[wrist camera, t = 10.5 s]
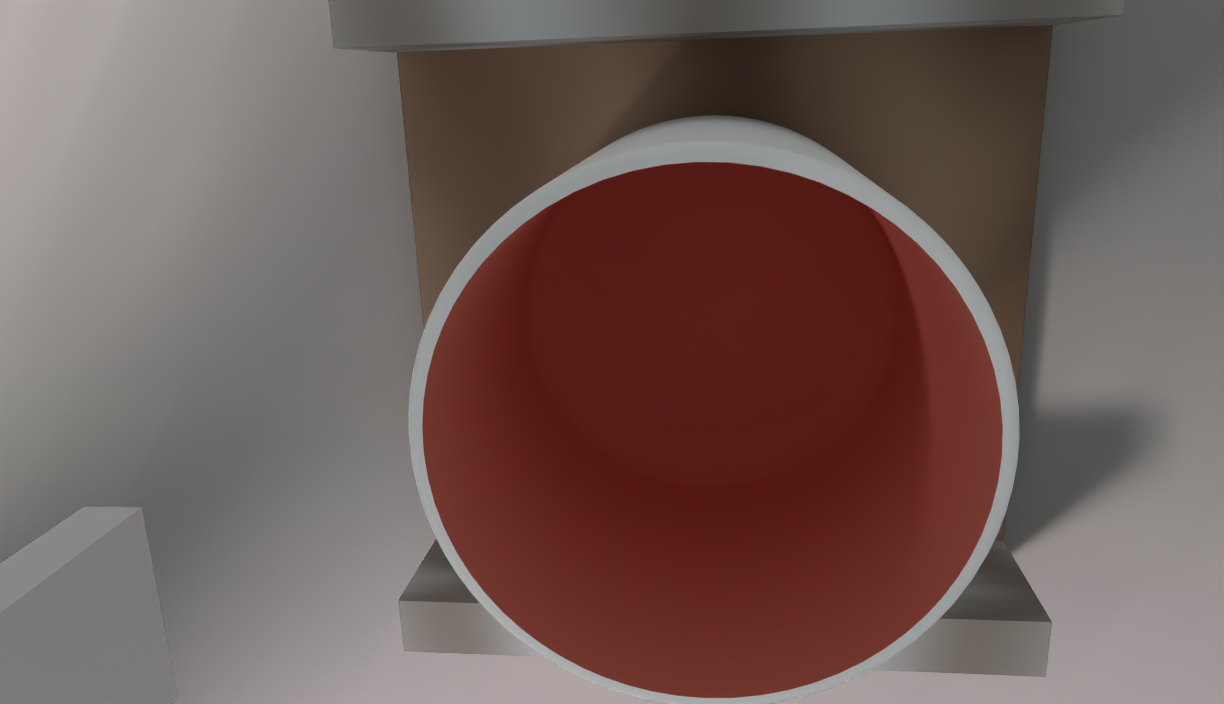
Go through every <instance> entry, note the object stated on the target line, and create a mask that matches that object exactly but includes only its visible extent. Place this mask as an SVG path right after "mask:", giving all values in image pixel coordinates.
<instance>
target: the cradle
mask: <svg viewBox="0 0 1224 704" xmlns="http://www.w3.org/2000/svg"><path fill="white" fill-rule="evenodd" d="M1124 1H1125V0H329V8H330V17H331V25H332V34H333V43H334V48H338V49H354V50H370V51H386V52H397V58H398V68H399V78H400V89H401V99H402V109H403V119H404V130H405V140H406V150H407V160H408V170H409V181H410V191H411V201H412V211H413V222H414V232H415V242H416V252H417V263H418V273H419V283H420V293H421V304H422V314H423V324H424V329H425V326H426V323H427V320H428V318H429V316H430V314H431V312H432V310H433V307H434V305H435V303H436V301H437V299H438V297H439V295H440V293H441V291H442V289H443V288H444V286H445V285H446V283H447V281H448V280H449V278H450V276H451V275H452V273H453V272H454V270H455V268H456V267H457V266H458V264H459V263H460V262H461V260H462V259H463V258H464V256H465V255H466V254H467V253H468V251H469V250H470V249H471V247H472V246H473V245H474V244H475V243H476V242H477V241H478V240H479V238H480V237H481V236H482V235H483V234H484V233H485V232H486V231H487V230H488V229H489V228H490V227H491V226H492V225H493V224H494V223H495V222H496V221H497V220H498V219H500V218H501V217H502V216H503V215H504V214H505V213H507V212H508V211H509V210H510V209H511V208H512V207H514V206H515V205H516V204H518V203H519V202H520V201H522V200H523V199H525V198H526V197H527V196H529V195H530V194H532V193H533V192H535V191H536V190H537V189H539V188H541V187H542V186H544V185H545V184H547V183H548V182H550V181H552V180H553V179H555V178H556V177H558V176H560V175H561V174H563V173H564V172H566V171H567V170H569V169H571V168H572V167H574V166H575V165H577V164H578V163H580V162H582V161H583V160H585V159H586V158H588V157H590V156H591V155H593V154H594V153H596V152H597V151H599V150H601V149H602V148H604V147H605V146H607V145H609V144H611V143H613V142H614V141H616V140H618V139H620V138H621V137H623V136H626V135H628V134H630V133H633V132H635V131H637V130H640V129H642V128H645V127H648V126H651V125H655V124H658V123H661V122H665V121H670V120H675V119H680V118H685V117H695V116H708V115H716V116H736V117H743V118H750V119H755V120H760V121H764V122H768V123H772V124H775V125H778V126H781V127H784V128H787V129H790V130H792V131H794V132H796V133H799V134H801V135H803V136H805V137H808V138H809V139H811V140H813V141H815V142H816V143H818V144H820V145H822V146H823V147H825V148H826V149H828V150H829V151H831V152H832V153H834V154H835V155H836V156H838V157H839V158H841V159H842V160H843V161H845V162H846V163H847V164H849V165H850V166H852V167H853V168H854V169H856V170H857V171H858V172H860V173H861V174H863V175H864V176H865V177H867V178H868V179H869V180H871V181H872V182H874V183H875V184H876V185H878V186H879V187H880V188H882V189H883V190H885V191H886V192H887V193H889V194H890V195H891V196H893V197H894V198H896V199H897V200H898V201H900V202H901V203H903V204H904V205H905V206H907V207H908V208H909V209H910V210H911V211H913V212H914V213H915V214H916V215H917V216H919V217H920V218H921V219H922V220H923V221H924V222H926V223H927V224H928V225H929V226H930V227H931V228H932V229H933V230H934V231H935V232H936V233H937V234H938V235H939V236H940V237H941V238H942V239H943V240H944V241H945V242H946V243H947V244H948V246H949V247H950V248H951V249H952V250H953V251H954V253H955V254H956V255H957V256H958V257H959V259H960V260H961V261H962V263H963V264H964V265H965V267H966V268H967V269H968V271H969V272H970V274H971V275H972V277H973V278H974V280H975V281H976V283H977V284H978V286H979V288H980V289H981V291H982V293H983V295H984V296H985V298H986V300H987V302H988V303H989V305H990V307H991V310H992V312H993V314H994V316H995V318H996V321H997V323H998V325H999V327H1000V329H1001V332H1002V335H1003V338H1004V341H1005V344H1006V347H1007V350H1008V353H1009V356H1010V360H1011V365H1012V369H1013V373H1014V378H1015V382H1016V390H1017V389H1018V378H1019V368H1020V357H1021V347H1022V337H1023V326H1024V316H1025V306H1026V295H1027V285H1028V275H1029V264H1030V254H1031V243H1032V233H1033V223H1034V212H1035V202H1036V192H1037V181H1038V171H1039V160H1040V150H1041V140H1042V129H1043V119H1044V109H1045V98H1046V88H1047V77H1048V67H1049V57H1050V46H1051V36H1052V26H1053V25H1056V24H1063V23H1070V22H1077V21H1084V20H1091V19H1098V18H1104V17H1111V16H1118V15H1123V10H1124ZM1004 523H1005V516H1004V519H1003V521H1002V524H1001V527H1000V529H999V532H998V534H997V536H996V538H995V540H994V542H993V544H992V547H991V549H990V551H989V553H988V555H987V556H986V558H985V559H984V561H983V563H982V564H981V566H980V568H979V569H978V571H977V573H976V574H975V576H974V577H973V579H972V581H971V582H970V583H969V584H968V586H967V587H966V588H965V590H964V591H963V592H962V594H961V595H960V596H959V597H958V599H957V600H956V601H955V603H954V604H953V605H952V606H951V607H950V608H949V609H948V610H947V611H946V612H945V613H944V614H943V615H942V616H941V617H940V618H939V619H938V621H937V622H936V623H935V624H934V625H933V626H931V627H930V628H929V629H928V630H927V631H926V632H924V633H923V634H922V635H921V636H920V637H918V638H917V639H916V640H915V641H914V642H913V643H911V644H910V645H909V646H907V647H906V648H904V649H903V650H901V651H900V652H898V653H897V654H896V655H894V656H893V657H891V658H890V659H888V660H887V661H885V662H884V663H882V664H880V665H878V666H876V667H874V668H872V669H871V670H892V671H917V672H942V673H967V674H992V675H1017V676H1042V677H1046V669H1047V660H1048V652H1049V643H1050V635H1051V626H1052V622H1051V620H1050V618H1049V617H1048V615H1047V613H1046V611H1045V610H1044V608H1043V606H1042V605H1041V603H1040V601H1039V600H1038V598H1037V596H1036V595H1035V593H1034V591H1033V590H1032V588H1031V586H1030V585H1029V583H1028V581H1027V580H1026V578H1025V576H1024V575H1023V573H1022V571H1021V570H1020V568H1019V566H1018V565H1017V563H1016V561H1015V560H1014V558H1013V556H1012V555H1011V553H1010V551H1009V550H1008V548H1007V546H1006V545H1005V543H1004V541H1003V534H1004ZM398 602H399V611H400V619H401V628H402V637H403V645H404V651H414V652H439V653H464V654H489V655H515V656H540V657H544V656H542V655H541V654H539V653H538V652H536V651H535V650H533V649H532V648H530V647H529V646H527V645H526V644H524V643H523V642H522V641H520V640H519V639H518V638H516V637H515V636H514V635H513V634H512V633H510V632H509V631H508V630H507V629H506V628H504V627H503V626H502V625H501V624H500V623H499V622H498V621H497V620H496V619H495V618H494V617H493V616H492V615H491V614H490V613H489V612H488V611H487V610H486V609H485V608H484V607H483V606H482V605H481V604H480V602H479V601H478V600H477V599H476V598H475V597H474V596H473V595H472V593H471V592H470V591H469V589H468V588H467V587H466V585H465V584H464V583H463V581H462V580H461V579H460V577H459V576H458V575H457V573H456V572H455V570H454V569H453V567H452V565H451V564H450V562H449V561H448V559H447V557H446V556H445V554H444V552H443V550H442V548H441V546H440V545H439V543H438V541H437V539H436V540H435V542H434V544H433V545H432V547H431V548H430V550H429V552H428V553H427V555H426V557H425V558H424V560H423V561H422V563H421V565H420V566H419V568H418V570H417V571H416V573H415V574H414V576H413V578H412V579H411V581H410V583H409V584H408V586H407V587H406V589H405V591H404V592H403V594H402V596H401V597H400V599H399V600H398Z"/></svg>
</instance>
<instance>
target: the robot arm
mask: <svg viewBox="0 0 1224 704" xmlns="http://www.w3.org/2000/svg"><path fill="white" fill-rule="evenodd" d="M177 697H178V695H177V689H176V684H175V679H174V674H173V669H172V663H171V658H170V653H169V648H168V643H167V637H166V632H165V627H164V622H163V616H162V611H161V606H160V601H159V596H158V590H157V585H156V580H155V575H154V570H153V564H152V559H151V554H150V549H149V543H148V538H147V533H146V528H145V523H144V517H143V512H142V507H86V506H84V507H83V508H81V509H80V510H78V511H77V512H75V513H74V514H72V515H71V516H69V517H68V518H66V519H65V520H63V521H62V522H60V523H59V524H57V525H56V526H54V527H53V528H52V529H50V530H49V531H47V532H46V533H44V534H43V535H41V536H40V537H38V538H37V539H35V540H34V541H32V542H31V543H29V544H28V545H26V546H25V547H23V548H22V549H20V550H19V551H18V552H16V553H15V554H13V555H12V556H10V557H9V558H7V559H6V560H4V561H3V562H1V563H0V704H172V703H173V702H174V701H175V700H176V699H177Z"/></svg>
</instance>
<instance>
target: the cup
mask: <svg viewBox="0 0 1224 704" xmlns="http://www.w3.org/2000/svg"><path fill="white" fill-rule="evenodd" d="M408 428H409V445H410V453H411V461H412V467H413V472H414V476H415V481H416V485H417V489H418V492H419V496H420V499H421V502H422V505H423V508H424V511H425V514H426V516H427V519H428V521H429V523H430V526H431V528H432V531H433V533H434V535H435V537H436V539H437V541H438V543H439V545H440V546H441V548H442V550H443V552H444V554H445V556H446V557H447V559H448V561H449V562H450V564H451V565H452V567H453V569H454V570H455V572H456V573H457V575H458V576H459V577H460V579H461V580H462V581H463V583H464V584H465V585H466V587H467V588H468V589H469V591H470V592H471V593H472V595H473V596H474V597H475V598H476V599H477V600H478V601H479V602H480V604H481V605H482V606H483V607H484V608H485V609H486V610H487V611H488V612H489V613H490V614H491V615H492V616H493V617H494V618H495V619H496V620H497V621H498V622H499V623H500V624H501V625H502V626H503V627H504V628H506V629H507V630H508V631H509V632H510V633H512V634H513V635H514V636H515V637H516V638H518V639H519V640H520V641H522V642H523V643H524V644H526V645H527V646H529V647H530V648H532V649H533V650H535V651H536V652H538V653H539V654H541V655H542V656H544V657H545V658H547V659H548V660H550V661H551V662H553V663H554V664H556V665H558V666H560V667H562V668H564V669H565V670H567V671H569V672H571V673H573V674H575V675H577V676H579V677H581V678H583V679H586V680H588V681H591V682H593V683H596V684H598V685H600V686H603V687H605V688H608V689H611V690H614V691H618V692H621V693H624V694H627V695H630V696H634V697H638V698H642V699H647V700H652V701H657V702H661V703H666V704H770V703H775V702H780V701H786V700H791V699H796V698H799V697H803V696H806V695H809V694H813V693H816V692H820V691H823V690H826V689H829V688H831V687H834V686H836V685H839V684H841V683H843V682H846V681H848V680H851V679H853V678H855V677H858V676H860V675H861V674H863V673H865V672H867V671H869V670H871V669H872V668H874V667H876V666H878V665H880V664H882V663H884V662H885V661H887V660H888V659H890V658H891V657H893V656H894V655H896V654H897V653H898V652H900V651H901V650H903V649H904V648H906V647H907V646H909V645H910V644H911V643H913V642H914V641H915V640H916V639H917V638H918V637H920V636H921V635H922V634H923V633H924V632H926V631H927V630H928V629H929V628H930V627H931V626H933V625H934V624H935V623H936V622H937V621H938V619H939V618H940V617H941V616H942V615H943V614H944V613H945V612H946V611H947V610H948V609H949V608H950V607H951V606H952V605H953V604H954V603H955V601H956V600H957V599H958V597H959V596H960V595H961V594H962V592H963V591H964V590H965V588H966V587H967V586H968V584H969V583H970V582H971V581H972V579H973V577H974V576H975V574H976V573H977V571H978V569H979V568H980V566H981V564H982V563H983V561H984V559H985V558H986V556H987V555H988V553H989V551H990V549H991V547H992V544H993V542H994V540H995V538H996V536H997V534H998V532H999V529H1000V527H1001V524H1002V521H1003V519H1004V516H1005V513H1006V511H1007V507H1008V504H1009V500H1010V496H1011V493H1012V489H1013V485H1014V479H1015V473H1016V468H1017V462H1018V449H1019V436H1020V434H1019V406H1018V398H1017V390H1016V382H1015V378H1014V373H1013V369H1012V365H1011V360H1010V356H1009V353H1008V350H1007V347H1006V344H1005V341H1004V338H1003V335H1002V332H1001V329H1000V327H999V325H998V323H997V321H996V318H995V316H994V314H993V312H992V310H991V307H990V305H989V303H988V302H987V300H986V298H985V296H984V295H983V293H982V291H981V289H980V288H979V286H978V284H977V283H976V281H975V280H974V278H973V277H972V275H971V274H970V272H969V271H968V269H967V268H966V267H965V265H964V264H963V263H962V261H961V260H960V259H959V257H958V256H957V255H956V254H955V253H954V251H953V250H952V249H951V248H950V247H949V246H948V244H947V243H946V242H945V241H944V240H943V239H942V238H941V237H940V236H939V235H938V234H937V233H936V232H935V231H934V230H933V229H932V228H931V227H930V226H929V225H928V224H927V223H926V222H924V221H923V220H922V219H921V218H920V217H919V216H917V215H916V214H915V213H914V212H913V211H911V210H910V209H909V208H908V207H907V206H905V205H904V204H903V203H901V202H900V201H898V200H897V199H896V198H894V197H893V196H891V195H890V194H889V193H887V192H886V191H885V190H883V189H882V188H880V187H879V186H878V185H876V184H875V183H874V182H872V181H871V180H869V179H868V178H867V177H865V176H864V175H863V174H861V173H860V172H858V171H857V170H856V169H854V168H853V167H852V166H850V165H849V164H847V163H846V162H845V161H843V160H842V159H841V158H839V157H838V156H836V155H835V154H834V153H832V152H831V151H829V150H828V149H826V148H825V147H823V146H822V145H820V144H818V143H816V142H815V141H813V140H811V139H809V138H808V137H805V136H803V135H801V134H799V133H796V132H794V131H792V130H790V129H787V128H784V127H781V126H778V125H775V124H772V123H768V122H764V121H760V120H755V119H750V118H743V117H736V116H716V115H708V116H695V117H685V118H680V119H675V120H670V121H665V122H661V123H658V124H655V125H651V126H648V127H645V128H642V129H640V130H637V131H635V132H633V133H630V134H628V135H626V136H623V137H621V138H620V139H618V140H616V141H614V142H613V143H611V144H609V145H607V146H605V147H604V148H602V149H601V150H599V151H597V152H596V153H594V154H593V155H591V156H590V157H588V158H586V159H585V160H583V161H582V162H580V163H578V164H577V165H575V166H574V167H572V168H571V169H569V170H567V171H566V172H564V173H563V174H561V175H560V176H558V177H556V178H555V179H553V180H552V181H550V182H548V183H547V184H545V185H544V186H542V187H541V188H539V189H537V190H536V191H535V192H533V193H532V194H530V195H529V196H527V197H526V198H525V199H523V200H522V201H520V202H519V203H518V204H516V205H515V206H514V207H512V208H511V209H510V210H509V211H508V212H507V213H505V214H504V215H503V216H502V217H501V218H500V219H498V220H497V221H496V222H495V223H494V224H493V225H492V226H491V227H490V228H489V229H488V230H487V231H486V232H485V233H484V234H483V235H482V236H481V237H480V238H479V240H478V241H477V242H476V243H475V244H474V245H473V246H472V247H471V249H470V250H469V251H468V253H467V254H466V255H465V256H464V258H463V259H462V260H461V262H460V263H459V264H458V266H457V267H456V268H455V270H454V272H453V273H452V275H451V276H450V278H449V280H448V281H447V283H446V285H445V286H444V288H443V289H442V291H441V293H440V295H439V297H438V299H437V301H436V303H435V305H434V307H433V310H432V312H431V314H430V316H429V318H428V320H427V323H426V326H425V329H424V332H423V335H422V338H421V340H420V343H419V346H418V350H417V354H416V359H415V363H414V367H413V372H412V379H411V386H410V393H409V410H408Z"/></svg>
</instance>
